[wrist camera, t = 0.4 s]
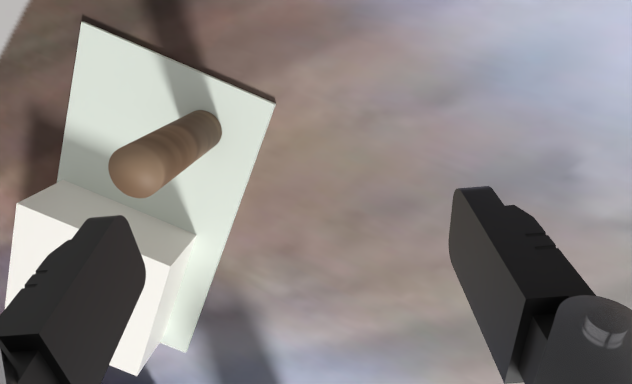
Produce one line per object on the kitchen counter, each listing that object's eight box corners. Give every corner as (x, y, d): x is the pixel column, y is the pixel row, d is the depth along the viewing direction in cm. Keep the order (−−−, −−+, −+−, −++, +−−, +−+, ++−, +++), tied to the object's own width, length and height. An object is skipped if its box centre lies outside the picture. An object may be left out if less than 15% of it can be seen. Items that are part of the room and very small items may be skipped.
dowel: (189, 103, 32) (113, 137, 22) (226, 119, 32) (166, 159, 22) (179, 139, 33) (103, 185, 23) (215, 154, 33) (154, 206, 24)
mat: (84, 21, 31) (81, 21, 30) (276, 103, 31) (274, 104, 31) (42, 291, 41) (39, 294, 40) (187, 350, 41) (185, 353, 41)
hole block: (63, 179, 35) (16, 203, 31) (196, 234, 36) (170, 266, 31) (45, 288, 40) (3, 322, 35) (163, 335, 40) (137, 376, 36)
